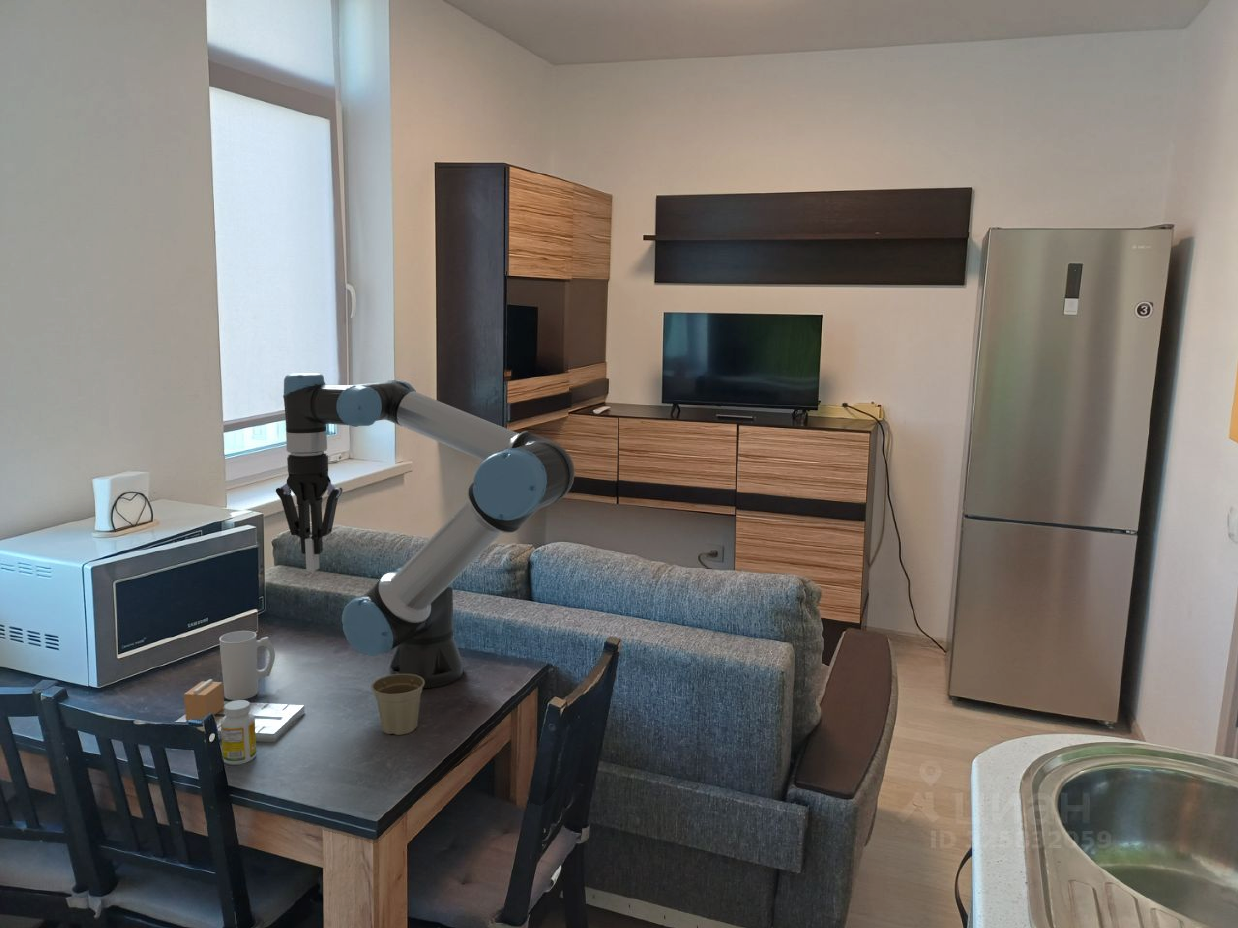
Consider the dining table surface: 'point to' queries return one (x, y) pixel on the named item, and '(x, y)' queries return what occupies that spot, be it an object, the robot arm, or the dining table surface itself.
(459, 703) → the dining table surface
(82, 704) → the dining table surface
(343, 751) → the dining table surface
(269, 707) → the console
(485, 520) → the robot arm
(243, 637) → the mug
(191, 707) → the cardboard box
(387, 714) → the flower pot
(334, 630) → the dining table surface
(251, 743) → the supplement bottle
